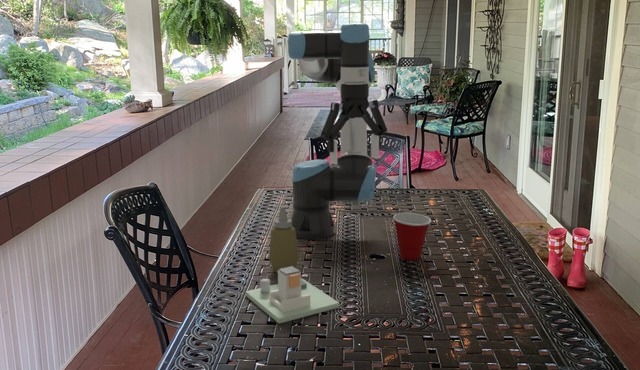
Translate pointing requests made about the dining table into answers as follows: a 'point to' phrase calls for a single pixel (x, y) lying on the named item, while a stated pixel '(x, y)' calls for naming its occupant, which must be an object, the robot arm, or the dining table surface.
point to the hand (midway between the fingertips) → (354, 161)
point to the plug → (289, 283)
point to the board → (291, 301)
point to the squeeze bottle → (283, 243)
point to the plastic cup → (411, 234)
